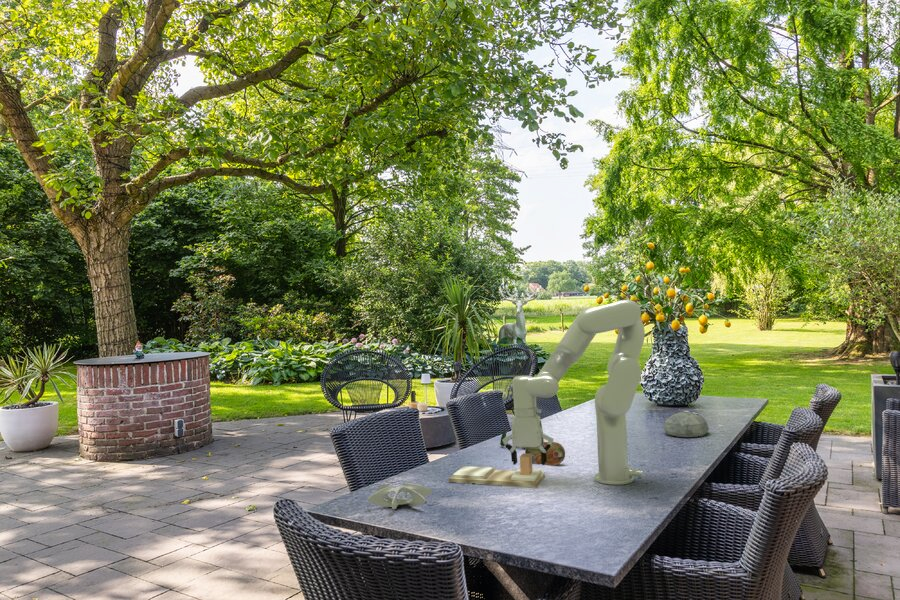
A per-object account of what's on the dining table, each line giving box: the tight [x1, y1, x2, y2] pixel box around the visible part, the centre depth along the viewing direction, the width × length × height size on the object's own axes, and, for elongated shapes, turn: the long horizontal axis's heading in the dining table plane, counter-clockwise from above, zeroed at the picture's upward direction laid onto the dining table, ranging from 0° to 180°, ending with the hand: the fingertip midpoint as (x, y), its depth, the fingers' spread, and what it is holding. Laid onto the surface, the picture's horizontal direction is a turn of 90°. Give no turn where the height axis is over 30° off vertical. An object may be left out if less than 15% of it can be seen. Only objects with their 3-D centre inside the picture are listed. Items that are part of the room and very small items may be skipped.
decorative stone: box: [663, 410, 710, 438], centre depth 276 cm, size 18×21×10 cm
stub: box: [511, 453, 543, 481], centre depth 209 cm, size 8×12×7 cm, turn 161°
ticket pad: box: [448, 465, 546, 489], centre depth 212 cm, size 30×14×3 cm, turn 71°
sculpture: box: [367, 481, 433, 510], centre depth 187 cm, size 18×20×6 cm
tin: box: [524, 441, 566, 466], centre depth 232 cm, size 15×3×8 cm, turn 62°
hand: (529, 463), depth 209 cm, fingers open, 9 cm apart
